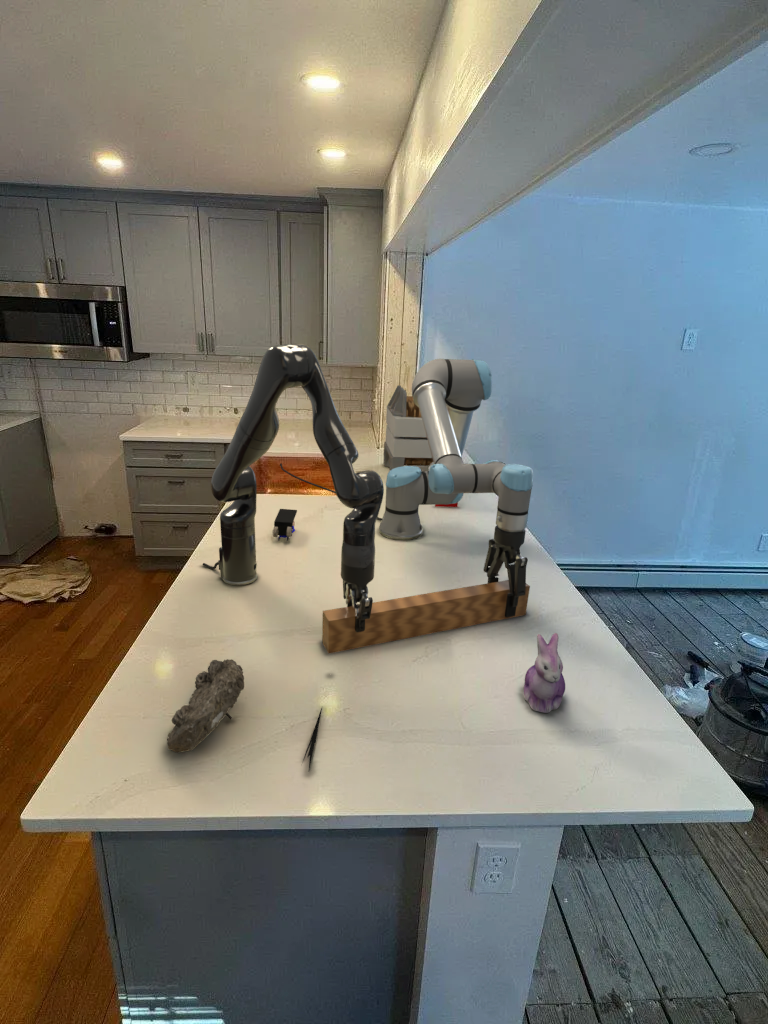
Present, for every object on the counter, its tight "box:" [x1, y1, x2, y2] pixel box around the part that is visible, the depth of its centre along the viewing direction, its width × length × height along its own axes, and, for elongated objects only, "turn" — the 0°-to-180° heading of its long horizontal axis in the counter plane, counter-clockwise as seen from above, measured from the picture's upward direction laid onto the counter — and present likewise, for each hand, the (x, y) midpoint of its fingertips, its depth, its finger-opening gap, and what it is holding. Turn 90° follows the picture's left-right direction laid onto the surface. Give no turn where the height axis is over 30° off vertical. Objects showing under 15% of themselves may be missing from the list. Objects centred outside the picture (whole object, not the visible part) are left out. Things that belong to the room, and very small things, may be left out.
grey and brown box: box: [383, 384, 447, 471], centre depth 268 cm, size 34×33×41 cm
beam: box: [321, 579, 531, 654], centre depth 140 cm, size 54×5×9 cm, turn 113°
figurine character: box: [272, 508, 298, 542], centre depth 192 cm, size 7×8×15 cm
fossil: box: [166, 658, 245, 754], centre depth 106 cm, size 22×10×15 cm
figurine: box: [523, 632, 566, 714], centre depth 114 cm, size 9×10×15 cm
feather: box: [301, 673, 332, 771], centre depth 108 cm, size 2×28×2 cm
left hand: (355, 624), depth 133 cm, fingers open, 5 cm apart
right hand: (500, 607), depth 148 cm, fingers open, 8 cm apart
